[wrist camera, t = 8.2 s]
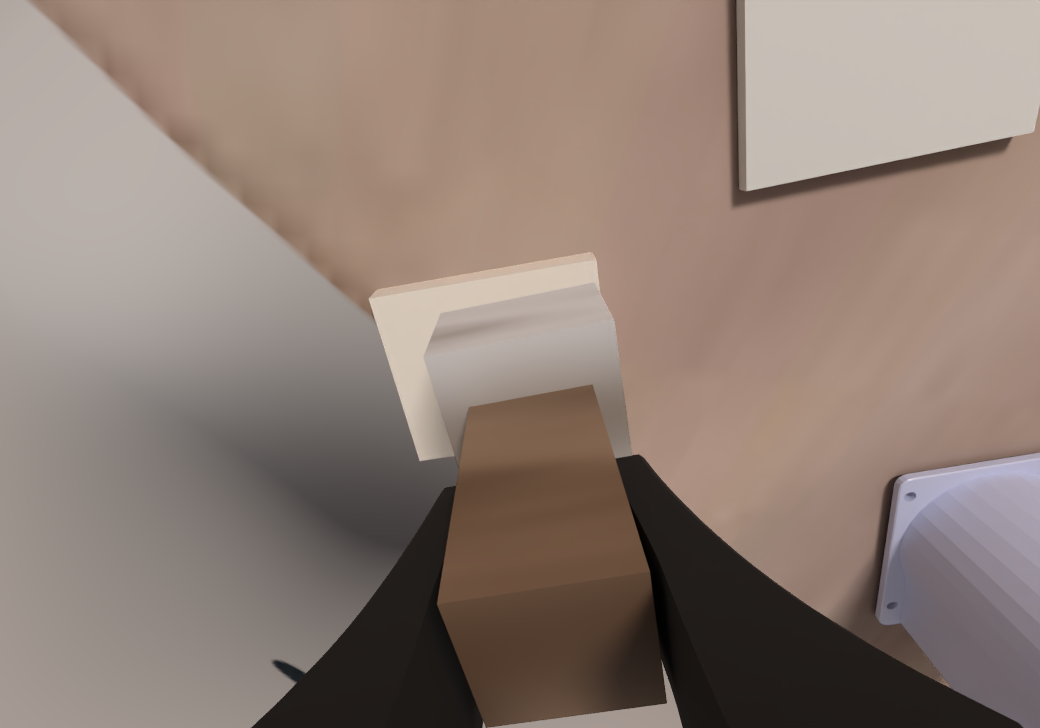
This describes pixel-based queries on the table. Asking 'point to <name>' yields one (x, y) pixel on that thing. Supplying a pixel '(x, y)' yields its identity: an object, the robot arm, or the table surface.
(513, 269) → the tile
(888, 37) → the mat
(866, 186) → the table surface
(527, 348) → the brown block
